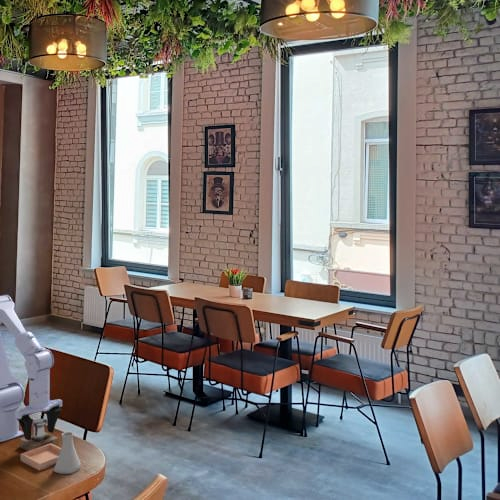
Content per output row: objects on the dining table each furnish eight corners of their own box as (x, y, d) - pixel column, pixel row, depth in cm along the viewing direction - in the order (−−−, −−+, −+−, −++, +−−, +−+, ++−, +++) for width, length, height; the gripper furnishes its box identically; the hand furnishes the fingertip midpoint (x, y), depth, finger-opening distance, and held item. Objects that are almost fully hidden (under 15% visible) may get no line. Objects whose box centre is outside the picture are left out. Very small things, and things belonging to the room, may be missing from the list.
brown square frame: (19, 447, 170) (19, 438, 170) (43, 438, 177) (43, 431, 177) (34, 454, 166) (34, 446, 165) (58, 445, 172) (58, 437, 172)
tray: (20, 460, 161) (20, 453, 161) (50, 449, 169) (50, 443, 169) (40, 470, 155) (40, 463, 155) (70, 459, 163) (70, 452, 163)
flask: (72, 476, 153) (73, 440, 152) (48, 473, 154) (48, 437, 154) (85, 464, 160) (86, 430, 159) (62, 461, 162) (62, 427, 161)
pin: (29, 446, 171) (29, 421, 170) (41, 442, 174) (41, 417, 174) (37, 450, 168) (37, 425, 168) (49, 446, 172) (49, 421, 171)
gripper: (24, 400, 162) (24, 446, 163) (68, 388, 173) (68, 431, 174) (11, 394, 166) (11, 440, 167) (54, 383, 178) (54, 425, 179)
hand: (39, 435), depth 171 cm, fingers open, 7 cm apart
